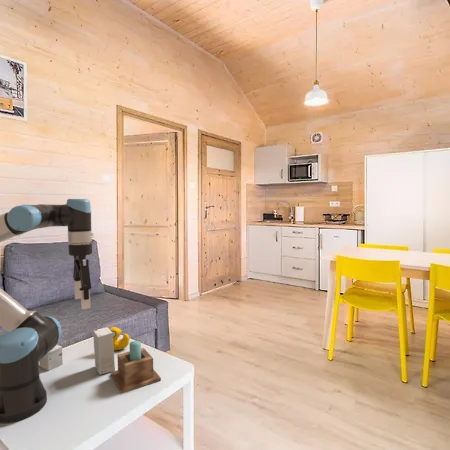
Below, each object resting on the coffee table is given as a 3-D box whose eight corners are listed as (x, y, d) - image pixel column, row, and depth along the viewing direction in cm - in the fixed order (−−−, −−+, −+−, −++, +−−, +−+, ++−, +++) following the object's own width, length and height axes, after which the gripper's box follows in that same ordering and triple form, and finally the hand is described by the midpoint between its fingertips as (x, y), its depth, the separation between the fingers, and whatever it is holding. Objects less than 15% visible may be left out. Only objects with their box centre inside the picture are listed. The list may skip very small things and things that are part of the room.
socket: (121, 393, 110) (121, 370, 109) (111, 374, 122) (110, 353, 121) (160, 380, 118) (160, 359, 117) (147, 364, 129) (146, 344, 129)
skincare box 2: (115, 371, 124) (114, 333, 123) (98, 375, 121) (97, 336, 120) (109, 362, 131) (108, 326, 130) (93, 366, 128) (92, 329, 127)
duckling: (101, 354, 138) (100, 331, 137) (102, 348, 143) (102, 326, 143) (129, 350, 141) (128, 328, 140) (129, 345, 146) (129, 323, 146)
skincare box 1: (48, 371, 124) (47, 352, 124) (39, 367, 127) (38, 348, 127) (63, 364, 130) (62, 346, 129) (53, 360, 133) (53, 343, 132)
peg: (131, 379, 117) (131, 346, 116) (128, 374, 120) (128, 342, 119) (142, 376, 119) (142, 343, 118) (139, 371, 122) (138, 340, 121)
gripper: (99, 246, 105) (101, 311, 106) (85, 239, 126) (87, 293, 127) (74, 248, 101) (76, 315, 102) (63, 240, 122) (65, 296, 123)
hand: (82, 303), depth 115 cm, fingers open, 13 cm apart
